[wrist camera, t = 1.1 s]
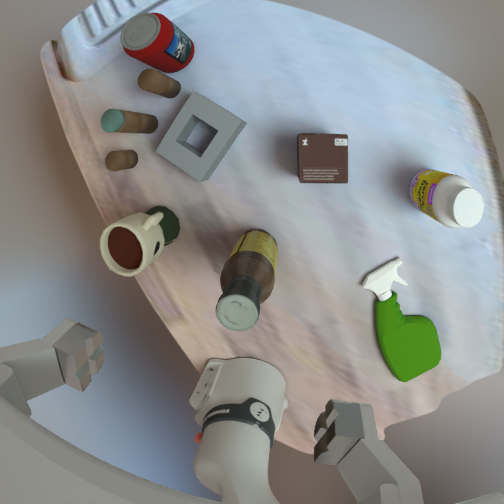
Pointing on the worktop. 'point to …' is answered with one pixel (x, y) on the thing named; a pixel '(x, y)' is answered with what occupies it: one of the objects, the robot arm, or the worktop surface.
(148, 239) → the character mug
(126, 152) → the short pin
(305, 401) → the worktop surface
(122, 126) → the long pin
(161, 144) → the socket block
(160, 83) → the medium pin
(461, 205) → the supplement bottle
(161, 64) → the beverage can
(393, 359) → the spray bottle
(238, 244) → the sauce bottle
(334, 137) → the box
